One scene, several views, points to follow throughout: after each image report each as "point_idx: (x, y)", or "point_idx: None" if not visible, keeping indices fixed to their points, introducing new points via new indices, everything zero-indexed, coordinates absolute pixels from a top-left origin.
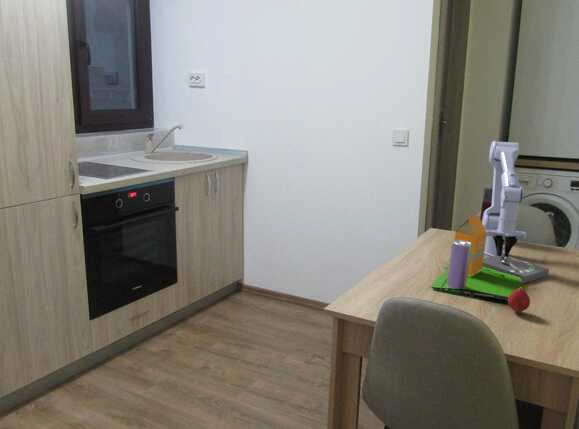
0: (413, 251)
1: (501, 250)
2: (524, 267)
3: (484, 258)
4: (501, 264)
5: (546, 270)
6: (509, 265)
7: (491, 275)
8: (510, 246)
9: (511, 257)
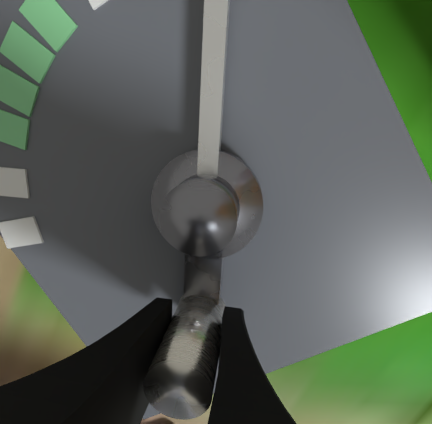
0: None
1: (224, 341)
2: (81, 99)
3: (354, 329)
4: (275, 172)
5: None
6: None
7: (428, 38)
8: (95, 363)
9: None
